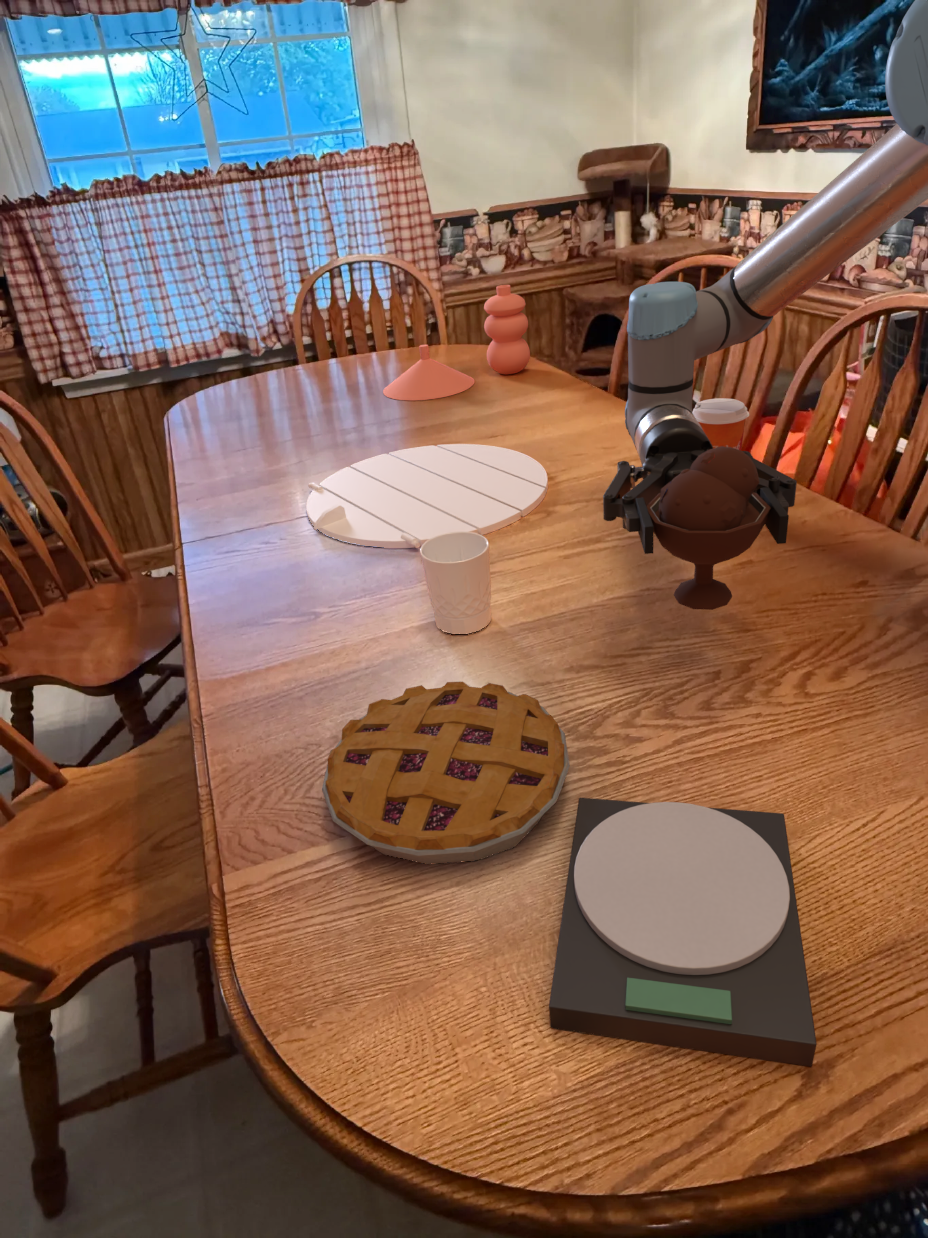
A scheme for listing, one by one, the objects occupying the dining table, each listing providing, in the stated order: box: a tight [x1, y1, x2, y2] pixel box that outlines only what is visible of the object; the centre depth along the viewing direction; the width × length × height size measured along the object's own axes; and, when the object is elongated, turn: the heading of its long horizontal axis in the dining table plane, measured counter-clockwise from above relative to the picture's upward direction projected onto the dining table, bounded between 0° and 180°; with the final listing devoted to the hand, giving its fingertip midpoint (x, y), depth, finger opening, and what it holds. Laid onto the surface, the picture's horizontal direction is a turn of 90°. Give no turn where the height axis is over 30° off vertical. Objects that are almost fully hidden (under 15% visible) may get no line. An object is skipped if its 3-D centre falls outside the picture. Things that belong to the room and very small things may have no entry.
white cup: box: [419, 532, 492, 634], centre depth 96 cm, size 8×8×10 cm
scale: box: [548, 797, 818, 1067], centre depth 59 cm, size 16×19×3 cm
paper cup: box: [692, 397, 750, 451], centre depth 116 cm, size 8×8×14 cm
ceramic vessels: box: [382, 284, 531, 401], centre depth 184 cm, size 35×21×19 cm, turn 105°
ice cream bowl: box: [647, 446, 771, 611], centre depth 77 cm, size 11×11×15 cm
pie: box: [321, 681, 570, 865], centre depth 73 cm, size 22×22×5 cm
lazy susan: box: [305, 443, 549, 549], centre depth 132 cm, size 40×39×3 cm
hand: (715, 535), depth 73 cm, fingers closed on ice cream bowl, 11 cm apart
